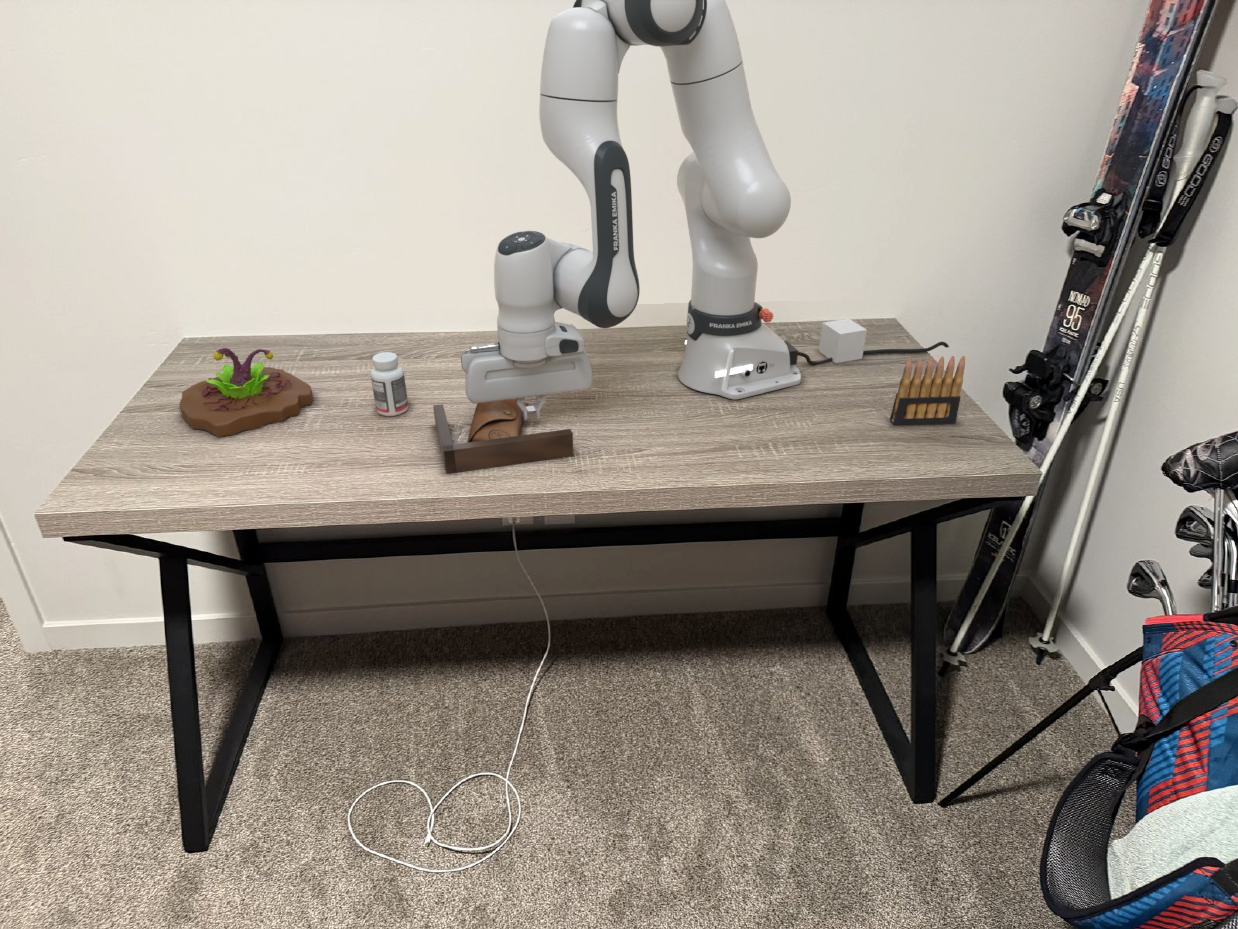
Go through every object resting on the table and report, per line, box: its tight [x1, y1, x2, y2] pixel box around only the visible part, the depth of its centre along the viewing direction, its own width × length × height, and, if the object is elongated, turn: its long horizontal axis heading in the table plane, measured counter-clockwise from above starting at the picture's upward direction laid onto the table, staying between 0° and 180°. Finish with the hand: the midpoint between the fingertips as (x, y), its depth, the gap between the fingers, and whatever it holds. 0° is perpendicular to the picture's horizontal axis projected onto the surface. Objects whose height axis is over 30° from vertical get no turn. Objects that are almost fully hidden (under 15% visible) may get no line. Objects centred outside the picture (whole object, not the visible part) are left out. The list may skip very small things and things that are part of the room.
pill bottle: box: [370, 351, 409, 417], centre depth 142 cm, size 5×5×10 cm
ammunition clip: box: [889, 355, 966, 427], centre depth 140 cm, size 11×2×12 cm, turn 94°
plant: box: [179, 347, 314, 438], centre depth 143 cm, size 20×20×11 cm
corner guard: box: [432, 404, 574, 475], centre depth 135 cm, size 20×15×4 cm
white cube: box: [818, 318, 868, 364], centre depth 164 cm, size 6×6×6 cm
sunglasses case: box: [466, 399, 529, 443], centre depth 138 cm, size 18×7×7 cm
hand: (531, 418), depth 139 cm, fingers closed
